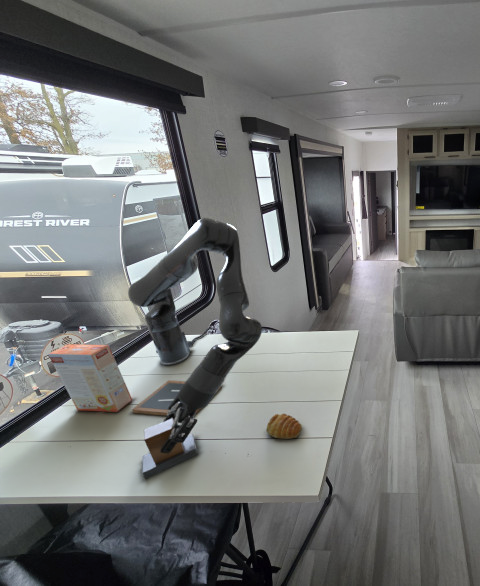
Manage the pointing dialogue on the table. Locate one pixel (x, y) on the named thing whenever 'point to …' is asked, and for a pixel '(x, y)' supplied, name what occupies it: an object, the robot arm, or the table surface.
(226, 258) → the robot arm
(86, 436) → the table surface
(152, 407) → the board
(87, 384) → the cracker box
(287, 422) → the pastry
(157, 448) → the eraser
